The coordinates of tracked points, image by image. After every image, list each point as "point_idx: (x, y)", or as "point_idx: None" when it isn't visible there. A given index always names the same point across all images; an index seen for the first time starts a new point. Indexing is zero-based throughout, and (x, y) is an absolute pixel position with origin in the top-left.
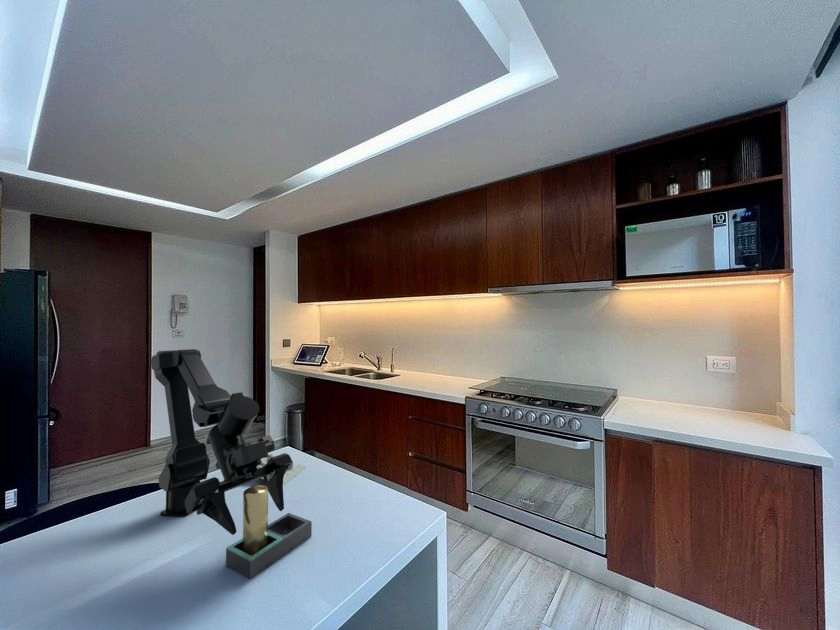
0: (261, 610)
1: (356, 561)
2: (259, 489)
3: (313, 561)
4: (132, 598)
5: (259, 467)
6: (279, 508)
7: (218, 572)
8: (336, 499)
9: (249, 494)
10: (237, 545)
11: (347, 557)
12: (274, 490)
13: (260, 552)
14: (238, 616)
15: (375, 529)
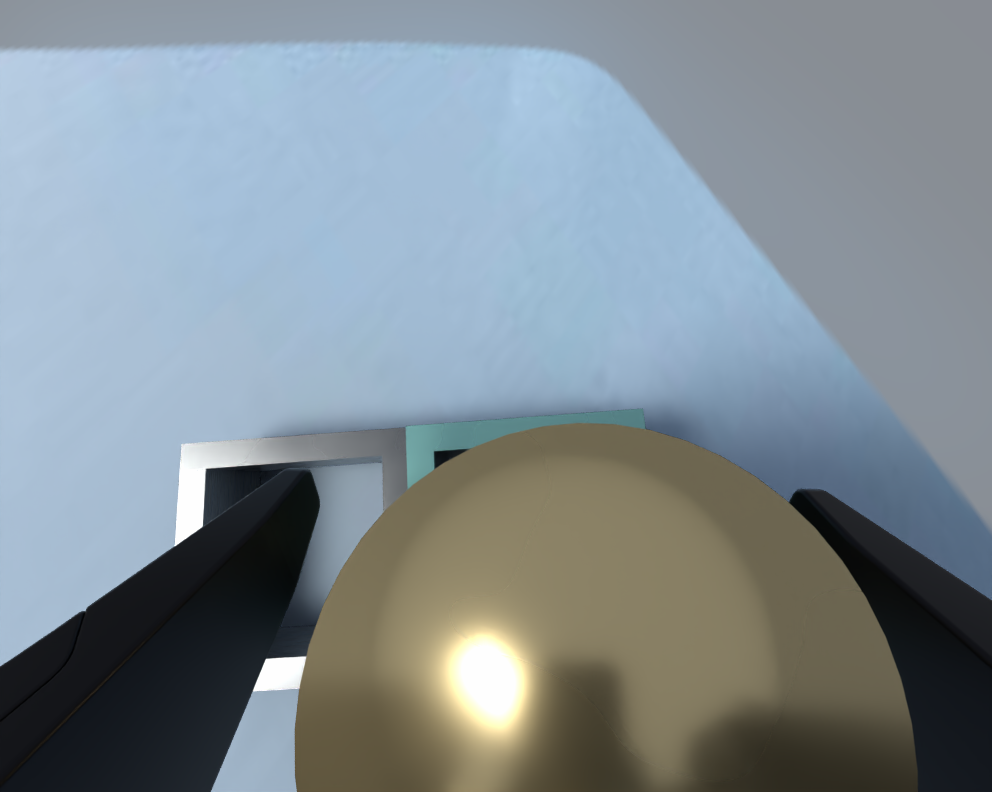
0: (677, 231)
1: (289, 137)
2: (515, 684)
3: (380, 284)
4: None
5: None
6: (306, 521)
7: None
8: None
9: (820, 652)
10: None
11: (287, 184)
12: (148, 744)
13: (569, 423)
14: (747, 276)
15: (57, 217)
